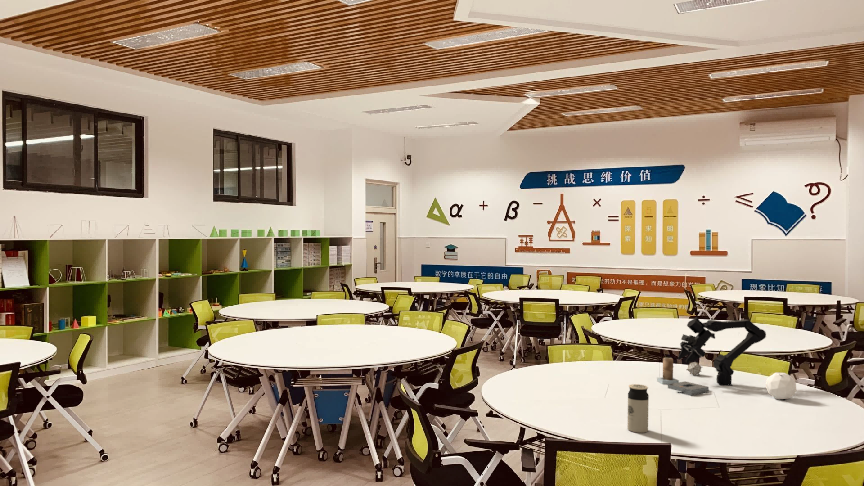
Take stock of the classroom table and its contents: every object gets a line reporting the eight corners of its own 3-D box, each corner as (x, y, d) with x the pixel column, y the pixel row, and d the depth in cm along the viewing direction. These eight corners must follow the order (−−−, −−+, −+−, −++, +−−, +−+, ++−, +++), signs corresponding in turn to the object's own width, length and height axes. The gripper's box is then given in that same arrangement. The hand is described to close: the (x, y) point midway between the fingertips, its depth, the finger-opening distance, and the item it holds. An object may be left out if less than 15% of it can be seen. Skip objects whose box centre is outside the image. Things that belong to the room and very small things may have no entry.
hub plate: (684, 386, 333) (684, 381, 333) (708, 392, 321) (708, 386, 321) (667, 390, 326) (667, 384, 326) (691, 395, 314) (691, 389, 314)
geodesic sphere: (804, 393, 299) (798, 367, 307) (772, 391, 301) (767, 365, 309) (795, 405, 310) (789, 379, 318) (765, 403, 313) (760, 378, 321)
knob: (670, 381, 341) (670, 357, 341) (674, 383, 336) (674, 359, 336) (660, 381, 341) (661, 357, 341) (665, 383, 336) (665, 359, 336)
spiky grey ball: (697, 381, 363) (706, 370, 357) (684, 376, 363) (693, 364, 357) (695, 371, 370) (704, 360, 365) (682, 366, 370) (691, 354, 365)
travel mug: (643, 427, 260) (644, 384, 259) (651, 433, 252) (651, 388, 252) (624, 427, 259) (625, 383, 259) (631, 433, 251) (632, 388, 251)
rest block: (672, 383, 342) (673, 377, 342) (678, 386, 335) (678, 380, 335) (656, 383, 342) (656, 377, 342) (662, 386, 335) (662, 380, 335)
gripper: (682, 326, 349) (664, 347, 348) (698, 331, 330) (679, 353, 330) (697, 340, 349) (678, 360, 349) (713, 345, 331) (694, 367, 330)
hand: (682, 360), depth 339 cm, fingers open, 9 cm apart
